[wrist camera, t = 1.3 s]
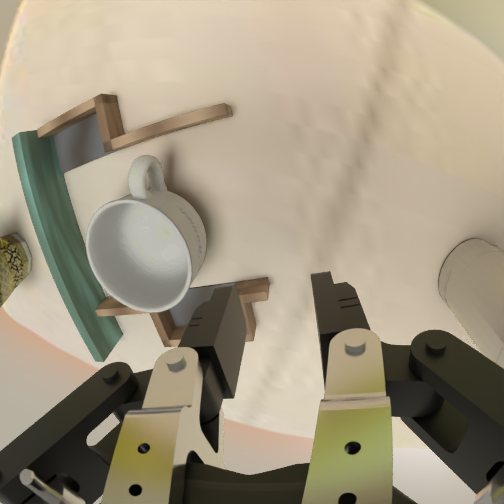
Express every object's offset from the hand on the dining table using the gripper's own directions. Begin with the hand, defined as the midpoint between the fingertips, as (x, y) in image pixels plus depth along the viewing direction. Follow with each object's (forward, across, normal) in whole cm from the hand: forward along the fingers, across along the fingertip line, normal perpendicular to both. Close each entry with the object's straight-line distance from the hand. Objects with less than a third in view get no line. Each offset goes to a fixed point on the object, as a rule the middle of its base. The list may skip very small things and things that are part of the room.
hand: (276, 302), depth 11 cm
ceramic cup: (+19, +38, -2) cm, 43 cm away
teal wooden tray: (+19, +14, 0) cm, 24 cm away
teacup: (+19, +12, 0) cm, 23 cm away
